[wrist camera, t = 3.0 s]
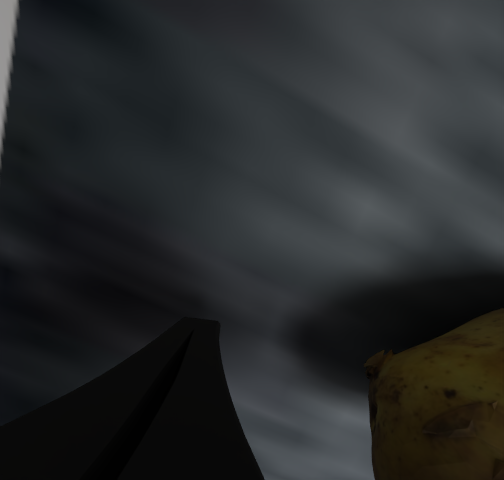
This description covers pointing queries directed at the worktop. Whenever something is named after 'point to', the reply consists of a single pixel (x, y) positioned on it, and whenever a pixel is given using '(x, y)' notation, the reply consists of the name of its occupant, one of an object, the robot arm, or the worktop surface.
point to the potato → (441, 406)
